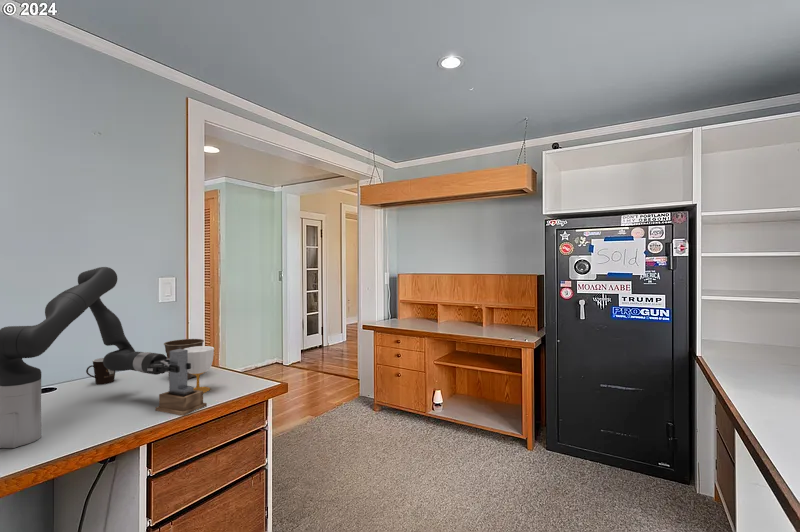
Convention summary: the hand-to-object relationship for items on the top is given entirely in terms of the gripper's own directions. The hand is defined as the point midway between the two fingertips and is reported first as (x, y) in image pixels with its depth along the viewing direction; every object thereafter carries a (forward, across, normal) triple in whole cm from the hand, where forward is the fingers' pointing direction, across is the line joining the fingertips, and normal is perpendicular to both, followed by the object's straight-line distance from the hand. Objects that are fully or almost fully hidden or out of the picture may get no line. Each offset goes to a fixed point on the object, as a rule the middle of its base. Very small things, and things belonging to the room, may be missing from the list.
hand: (184, 367), depth 140 cm
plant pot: (-35, +30, +15) cm, 48 cm away
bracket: (-1, 0, +9) cm, 9 cm away
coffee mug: (-59, +9, +15) cm, 62 cm away
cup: (-12, +17, +15) cm, 25 cm away
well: (-1, 0, +14) cm, 15 cm away
